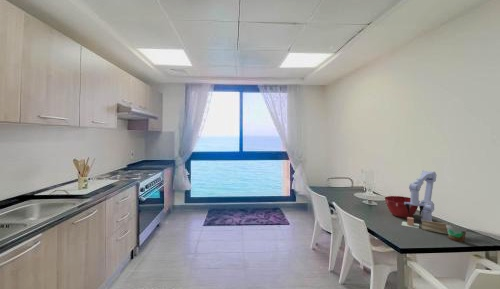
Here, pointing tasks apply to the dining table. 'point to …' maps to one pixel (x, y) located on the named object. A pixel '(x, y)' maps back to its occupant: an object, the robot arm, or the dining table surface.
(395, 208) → the mixing bowl
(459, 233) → the food container
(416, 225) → the mat
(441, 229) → the crate
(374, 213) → the dining table surface
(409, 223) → the block
